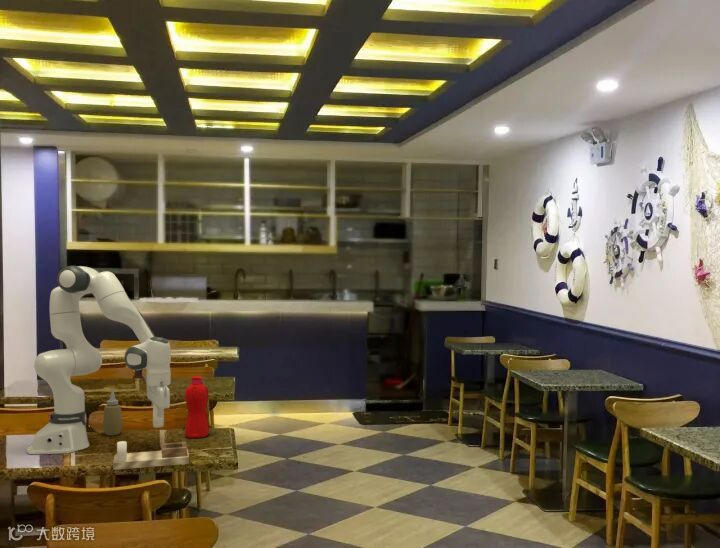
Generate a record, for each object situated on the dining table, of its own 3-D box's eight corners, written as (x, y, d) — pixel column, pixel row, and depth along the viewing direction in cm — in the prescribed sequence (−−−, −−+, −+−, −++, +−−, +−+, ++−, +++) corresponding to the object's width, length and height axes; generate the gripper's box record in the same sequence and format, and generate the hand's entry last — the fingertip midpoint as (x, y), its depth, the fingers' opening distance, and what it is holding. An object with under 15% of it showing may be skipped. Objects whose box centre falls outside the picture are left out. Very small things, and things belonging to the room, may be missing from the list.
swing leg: (118, 455, 259) (118, 437, 259) (127, 454, 260) (127, 437, 260) (117, 461, 250) (116, 443, 250) (126, 461, 251) (126, 443, 251)
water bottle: (209, 438, 293) (209, 378, 293) (183, 438, 293) (182, 378, 293) (214, 433, 302) (214, 374, 302) (189, 433, 303) (188, 374, 302)
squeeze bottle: (98, 435, 299) (98, 393, 299) (111, 431, 307) (110, 389, 307) (114, 437, 296) (113, 394, 296) (126, 432, 304) (126, 390, 304)
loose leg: (150, 427, 272) (151, 403, 271) (156, 424, 276) (156, 401, 275) (160, 427, 271) (160, 404, 271) (165, 425, 275) (165, 402, 274)
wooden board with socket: (113, 469, 250) (113, 454, 250) (115, 460, 261) (114, 446, 261) (189, 463, 257) (189, 448, 257) (187, 455, 268) (187, 440, 268)
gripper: (174, 383, 265) (174, 420, 266) (160, 374, 283) (159, 409, 283) (157, 385, 262) (157, 422, 263) (144, 376, 280) (143, 410, 280)
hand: (158, 415), depth 273 cm, fingers closed on loose leg, 4 cm apart
